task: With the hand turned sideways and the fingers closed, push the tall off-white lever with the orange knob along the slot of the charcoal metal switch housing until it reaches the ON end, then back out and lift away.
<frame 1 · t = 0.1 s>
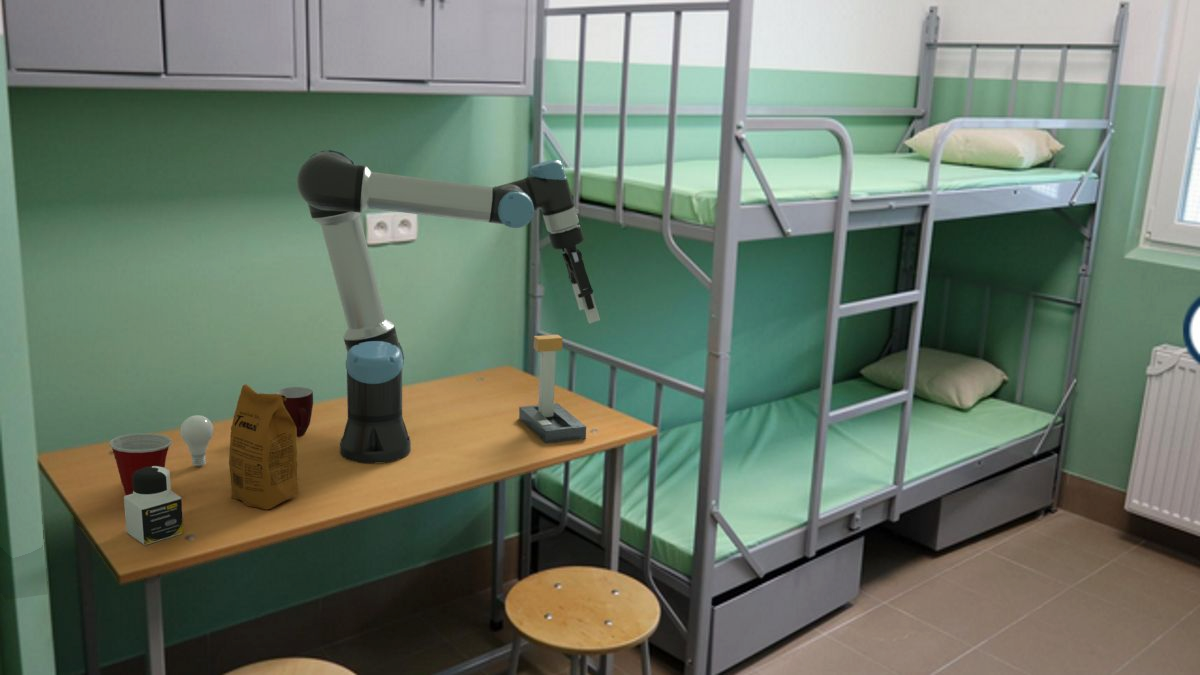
hand: (589, 315, 237), 28 cm above the table, tool tilted 20°, fingers open, 13 cm apart
switch housing: (551, 428, 242), on the table
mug: (298, 436, 230), on the table
medicine bottle: (155, 534, 180), on the table
lever: (547, 376, 243), point 12 cm above the table, slide at 0.0 cm
lightbulb: (199, 467, 211), on the table
plastic cup: (145, 499, 194), on the table
coffee package: (264, 498, 197), on the table
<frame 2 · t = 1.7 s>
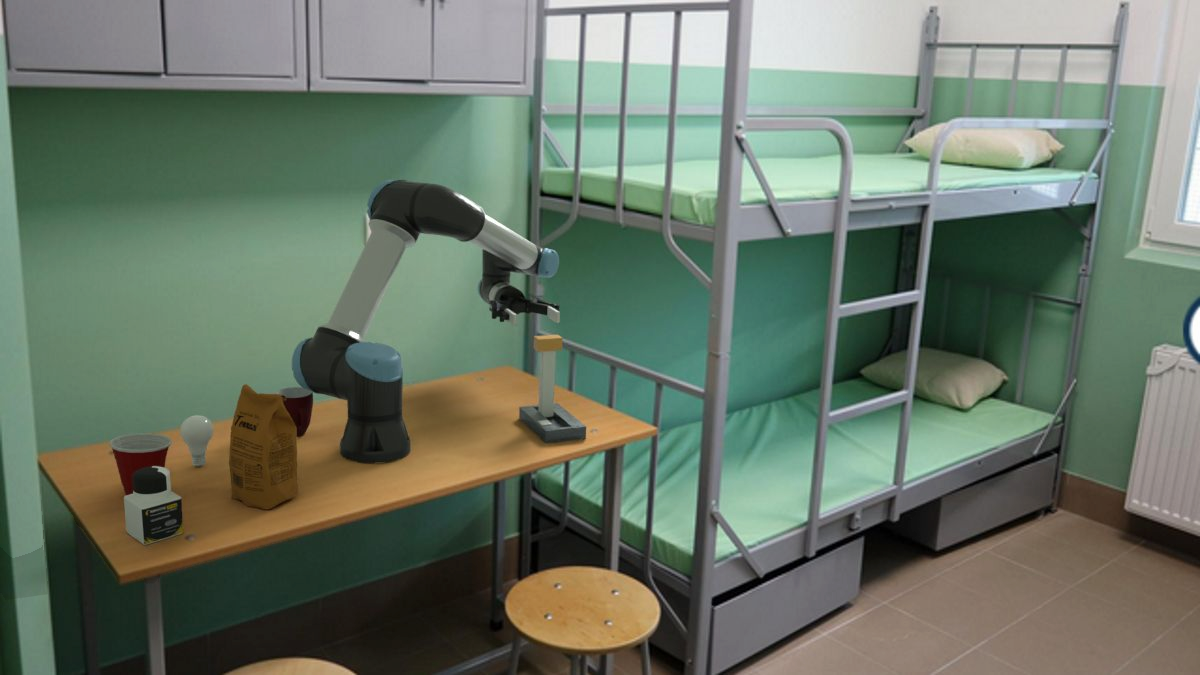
hand: (537, 318, 247), 24 cm above the table, tool horizontal, fingers open, 10 cm apart
nothing on the table moved.
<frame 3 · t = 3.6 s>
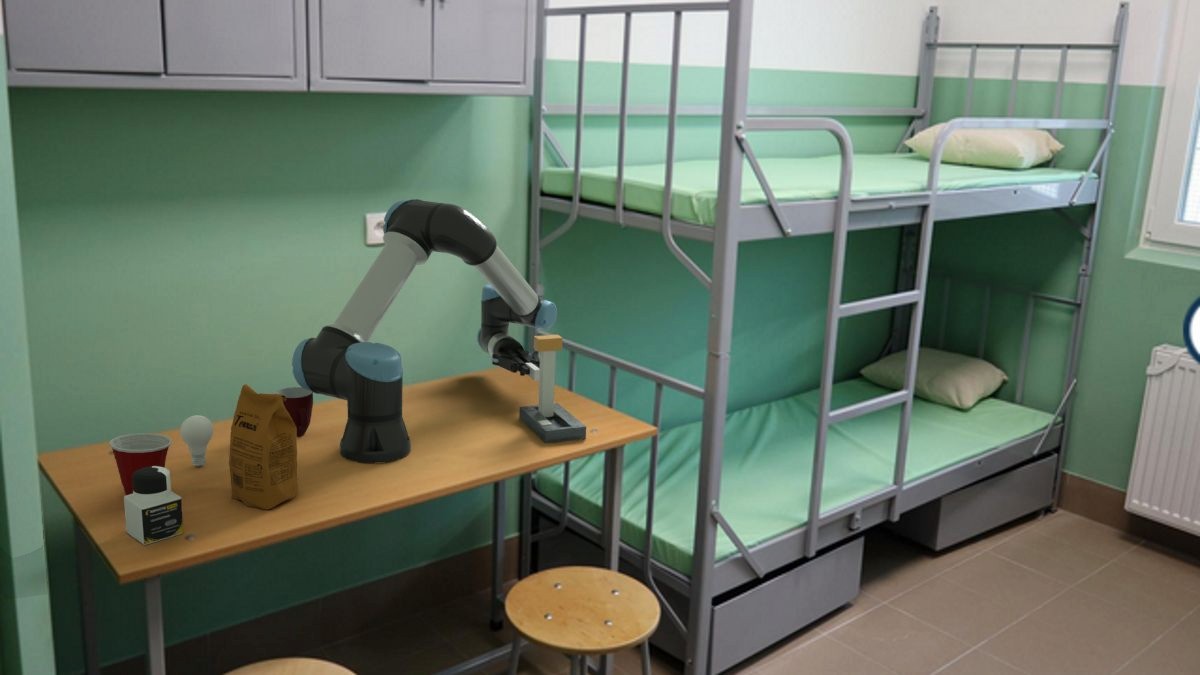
hand: (537, 375, 249), 10 cm above the table, tool horizontal, fingers closed
nothing on the table moved.
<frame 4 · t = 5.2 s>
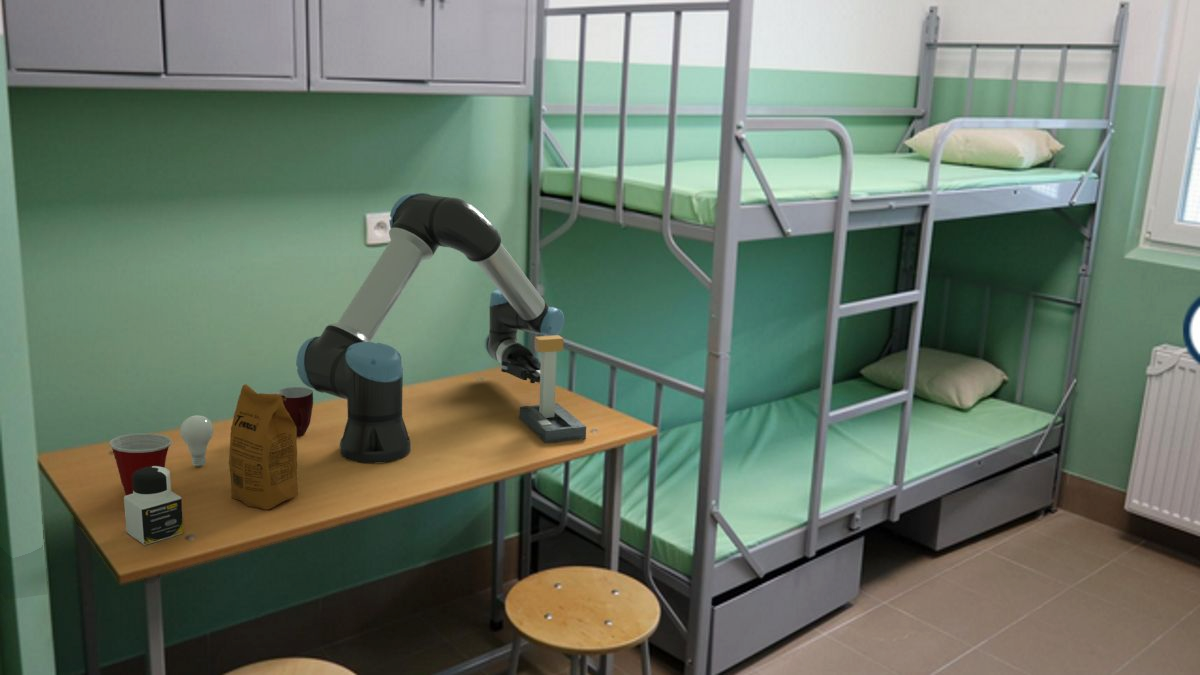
hand: (548, 382, 245), 10 cm above the table, tool horizontal, fingers closed
lever: (547, 377, 242), point 12 cm above the table, slide at 0.6 cm, touching gripper
everything else where it was.
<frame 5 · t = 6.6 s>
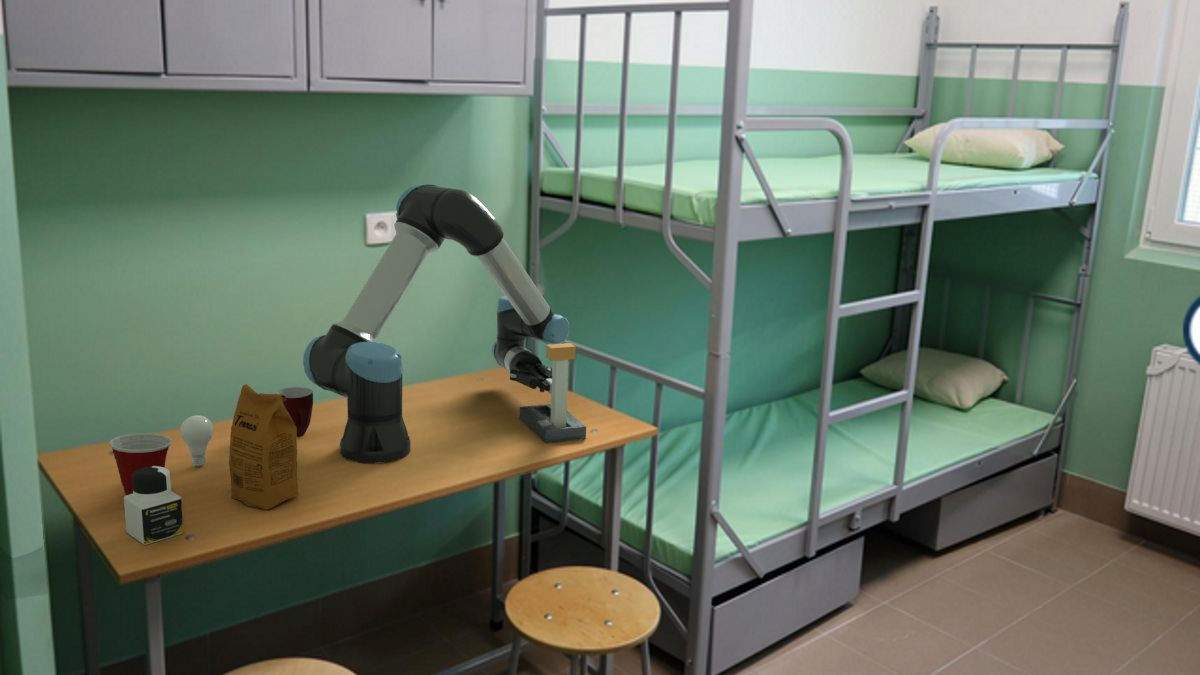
hand: (558, 391, 238), 10 cm above the table, tool horizontal, fingers closed
lever: (559, 386, 236), point 12 cm above the table, slide at 8.1 cm, touching gripper
everything else where it was.
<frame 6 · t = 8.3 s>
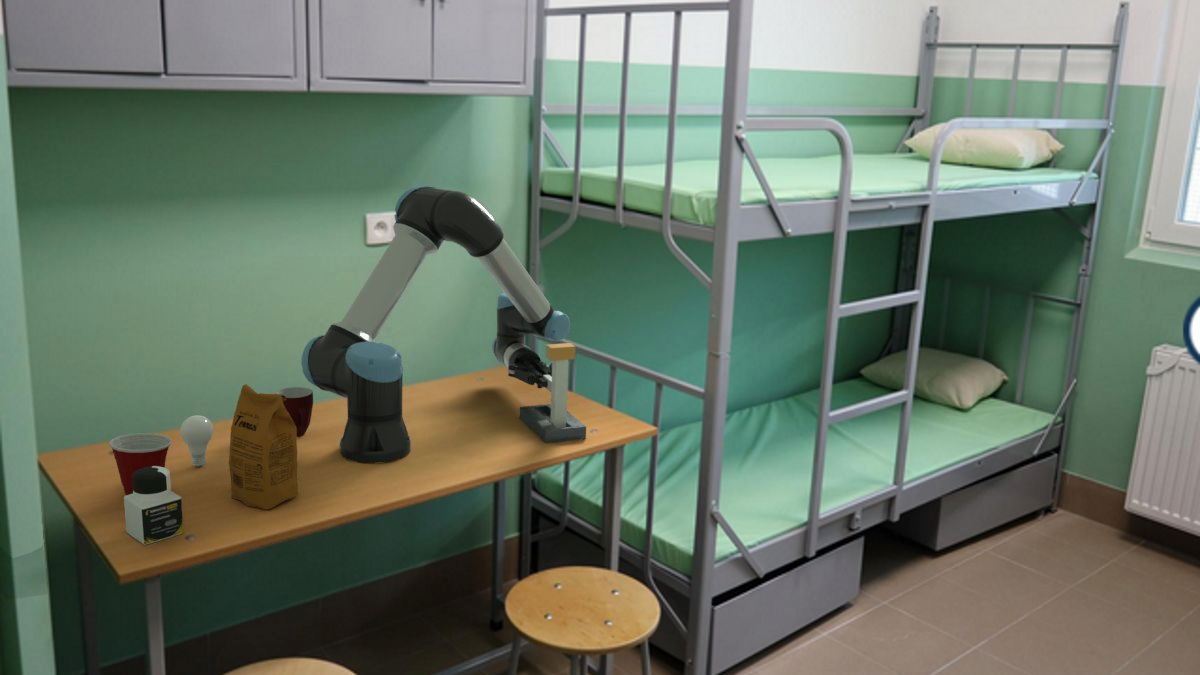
hand: (555, 387, 239), 10 cm above the table, tool horizontal, fingers closed
lever: (559, 386, 236), point 12 cm above the table, slide at 8.0 cm
everything else where it was.
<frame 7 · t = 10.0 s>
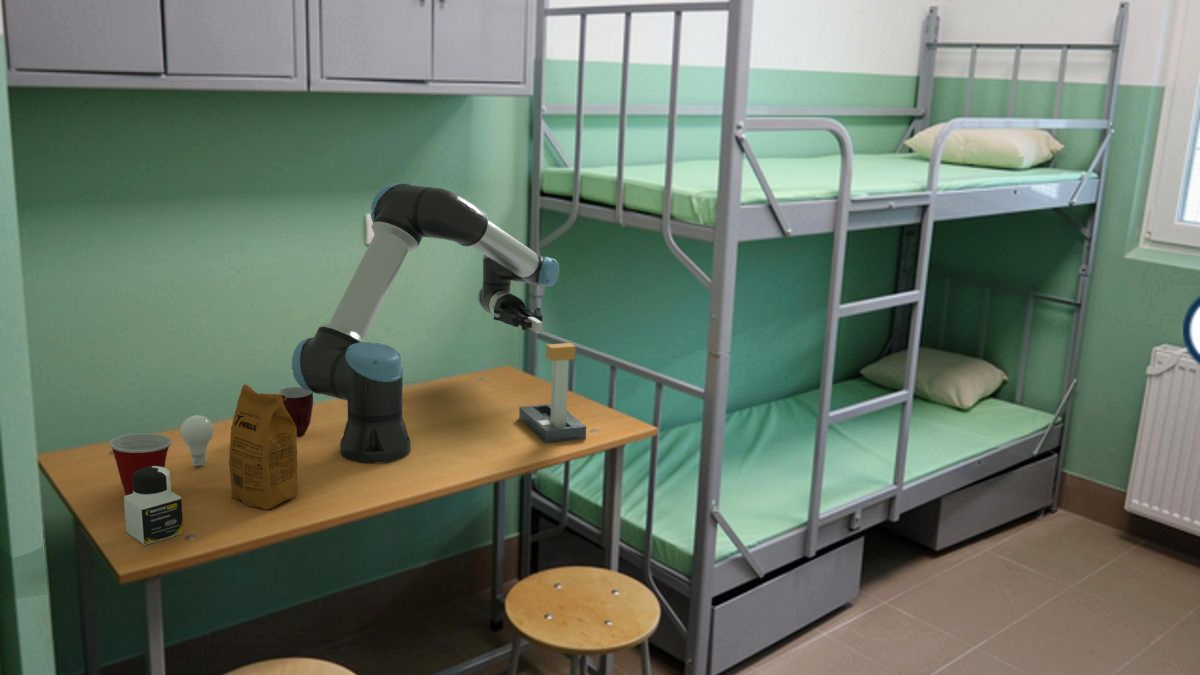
hand: (539, 328, 246), 22 cm above the table, tool horizontal, fingers closed
nothing on the table moved.
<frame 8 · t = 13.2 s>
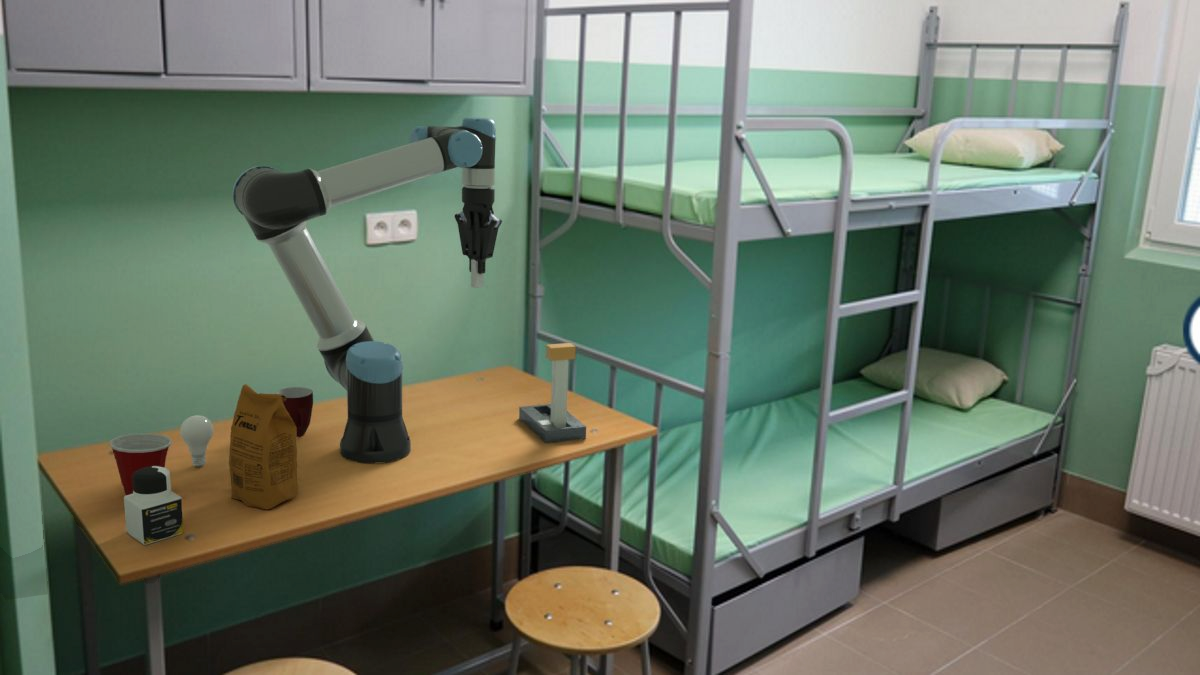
hand: (477, 286, 240), 32 cm above the table, tool pointing down, fingers closed
nothing on the table moved.
at the end: lever slide at 8.0 cm; the gripper is holding nothing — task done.
